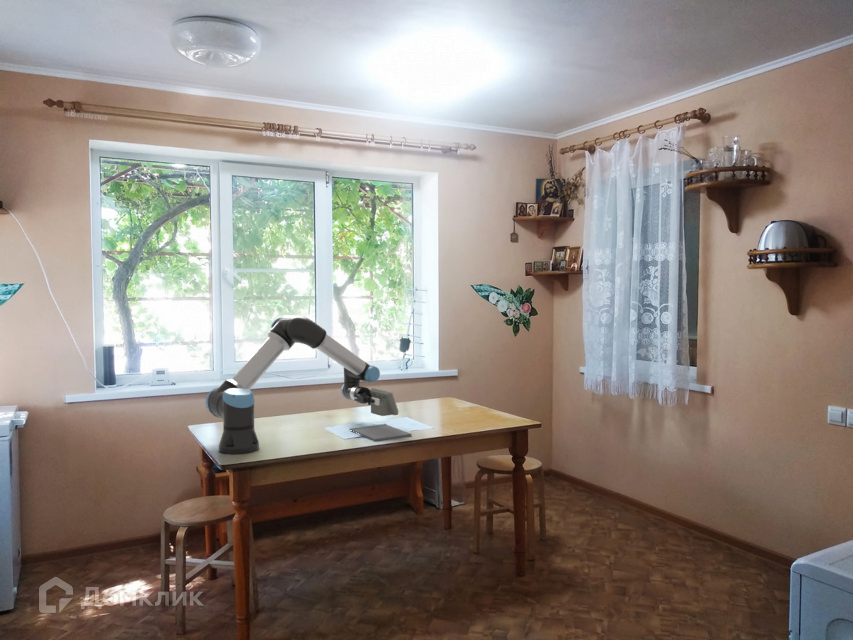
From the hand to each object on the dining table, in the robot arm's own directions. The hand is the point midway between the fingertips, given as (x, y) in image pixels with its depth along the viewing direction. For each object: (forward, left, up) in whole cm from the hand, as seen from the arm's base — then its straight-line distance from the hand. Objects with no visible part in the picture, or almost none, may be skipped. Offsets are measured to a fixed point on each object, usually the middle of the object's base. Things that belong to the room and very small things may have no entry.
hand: (384, 401), depth 260 cm
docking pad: (0, +4, -15) cm, 15 cm away
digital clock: (+2, +4, -6) cm, 7 cm away
